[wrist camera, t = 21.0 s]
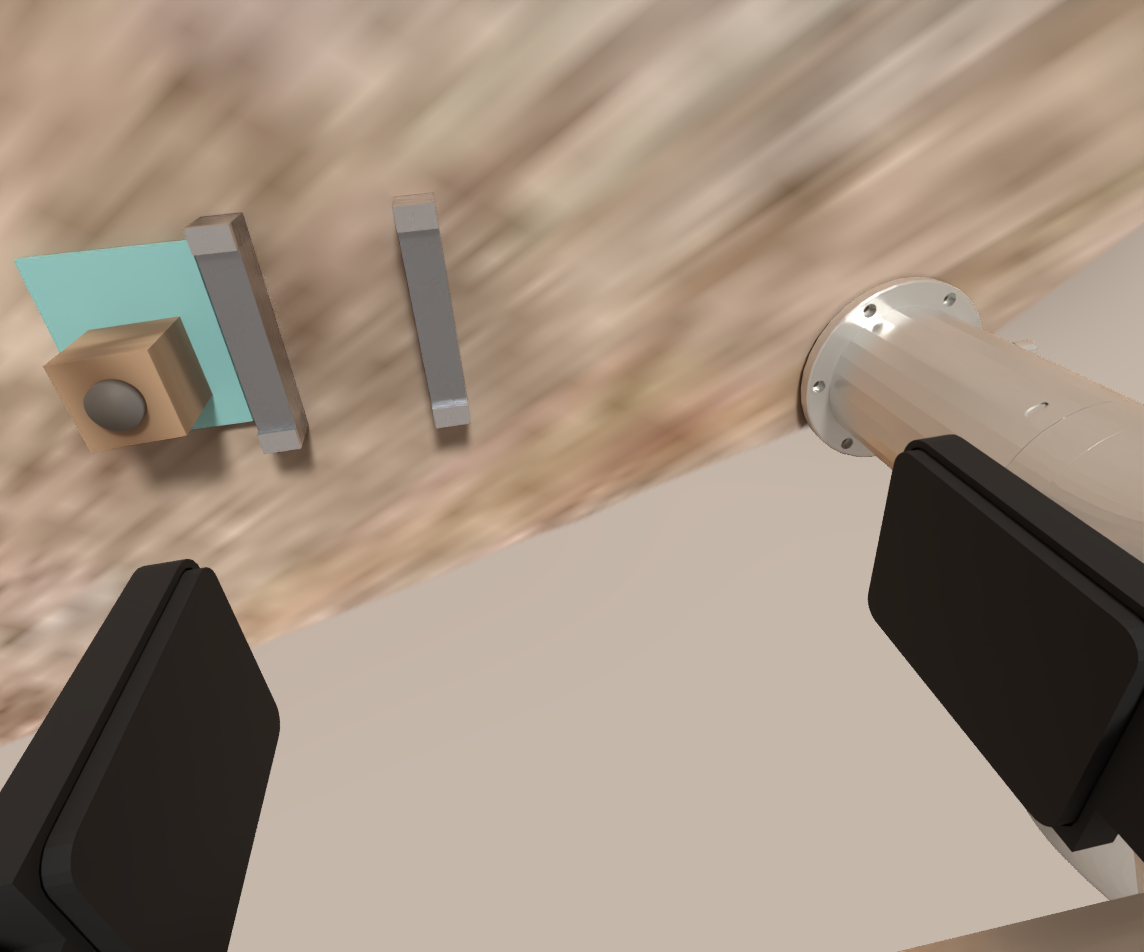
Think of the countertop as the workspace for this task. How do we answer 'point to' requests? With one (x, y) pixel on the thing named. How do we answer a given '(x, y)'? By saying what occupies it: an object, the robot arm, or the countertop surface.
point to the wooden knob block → (131, 383)
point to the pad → (138, 307)
